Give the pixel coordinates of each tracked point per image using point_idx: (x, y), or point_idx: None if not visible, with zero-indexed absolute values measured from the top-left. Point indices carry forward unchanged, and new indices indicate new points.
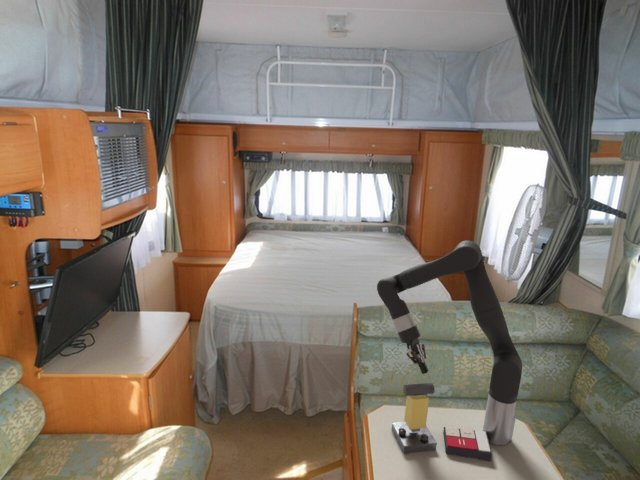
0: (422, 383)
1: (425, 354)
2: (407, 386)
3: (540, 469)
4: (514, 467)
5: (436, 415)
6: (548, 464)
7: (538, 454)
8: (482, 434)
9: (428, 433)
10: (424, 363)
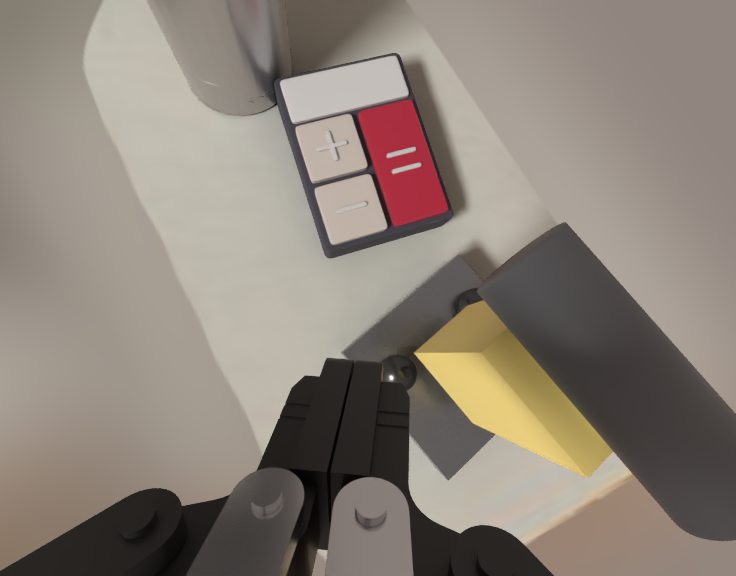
0: (596, 353)
1: (35, 558)
2: None
3: None
4: (376, 6)
5: (223, 313)
6: None
7: None
8: (307, 89)
9: (423, 300)
10: (339, 454)
